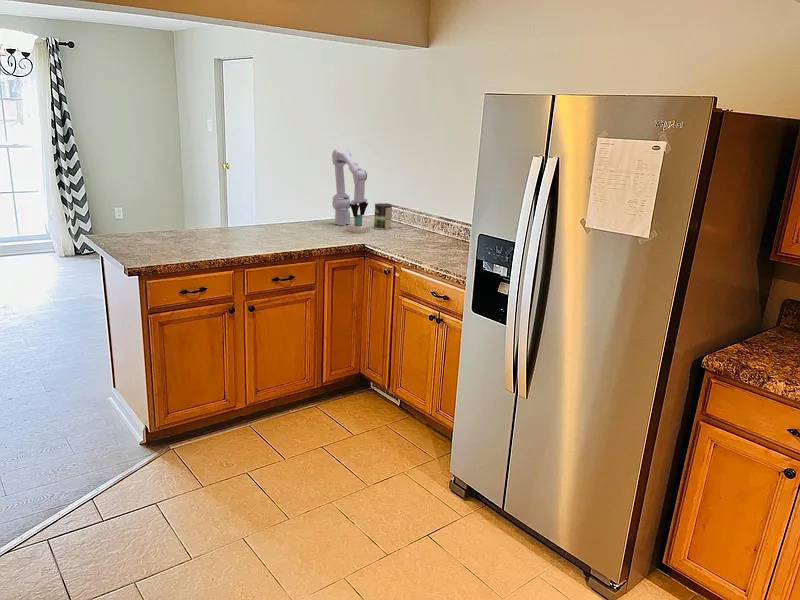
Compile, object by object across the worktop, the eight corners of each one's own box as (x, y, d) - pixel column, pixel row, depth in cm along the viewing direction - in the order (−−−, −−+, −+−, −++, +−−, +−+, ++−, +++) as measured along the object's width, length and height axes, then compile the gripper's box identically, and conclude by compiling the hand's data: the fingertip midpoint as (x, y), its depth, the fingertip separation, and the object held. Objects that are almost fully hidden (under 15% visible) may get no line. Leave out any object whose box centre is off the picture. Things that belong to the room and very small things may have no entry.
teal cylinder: (356, 224, 355) (357, 214, 353) (363, 225, 353) (363, 215, 351) (352, 225, 351) (353, 215, 349) (359, 226, 349) (359, 216, 347)
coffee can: (376, 229, 359) (377, 205, 355) (372, 226, 369) (372, 203, 364) (393, 229, 362) (394, 206, 358) (388, 226, 372) (389, 203, 368)
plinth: (355, 228, 359) (355, 223, 358) (370, 230, 355) (370, 225, 354) (346, 230, 350) (346, 225, 350) (361, 233, 346) (361, 227, 345)
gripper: (358, 193, 338) (357, 218, 342) (372, 191, 351) (371, 215, 355) (348, 192, 341) (347, 216, 345) (361, 190, 354) (360, 213, 358)
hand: (358, 215), depth 350 cm, fingers open, 7 cm apart
